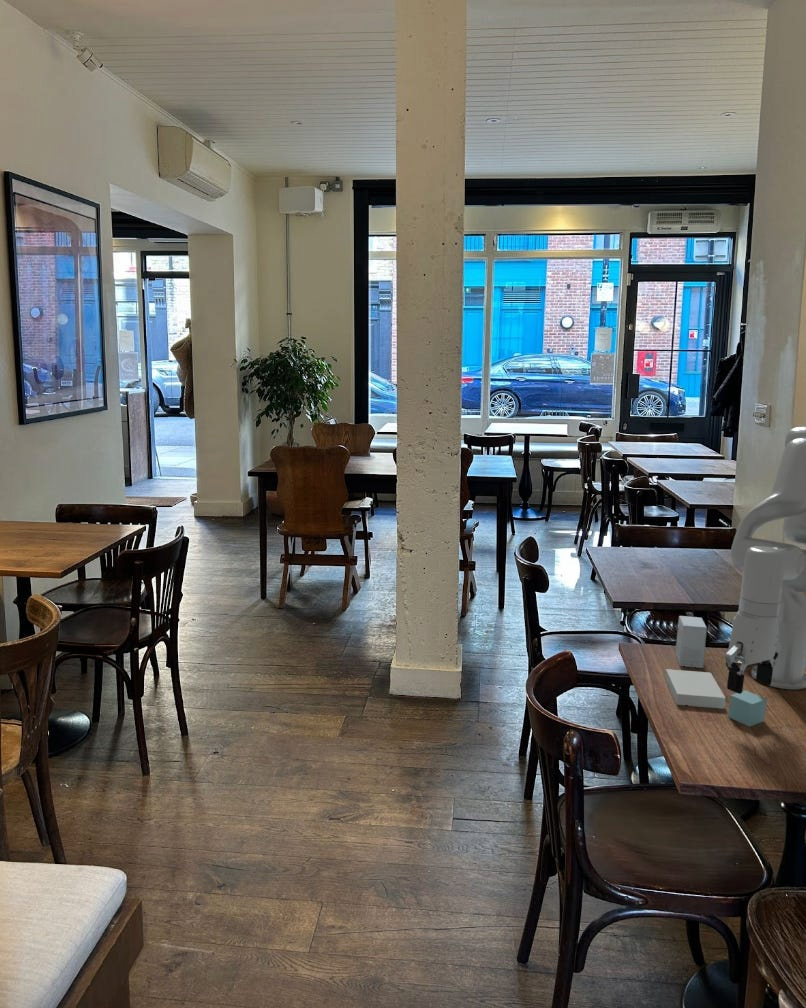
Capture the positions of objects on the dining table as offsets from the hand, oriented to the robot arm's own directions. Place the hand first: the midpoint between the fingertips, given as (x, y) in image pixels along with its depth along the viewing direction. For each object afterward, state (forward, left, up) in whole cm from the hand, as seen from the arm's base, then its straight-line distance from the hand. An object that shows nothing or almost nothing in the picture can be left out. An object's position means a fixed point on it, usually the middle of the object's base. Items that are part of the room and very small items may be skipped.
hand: (748, 687), depth 169 cm
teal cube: (-1, 0, -8) cm, 8 cm away
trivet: (-2, -14, -7) cm, 16 cm away
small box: (-17, -27, -8) cm, 33 cm away
